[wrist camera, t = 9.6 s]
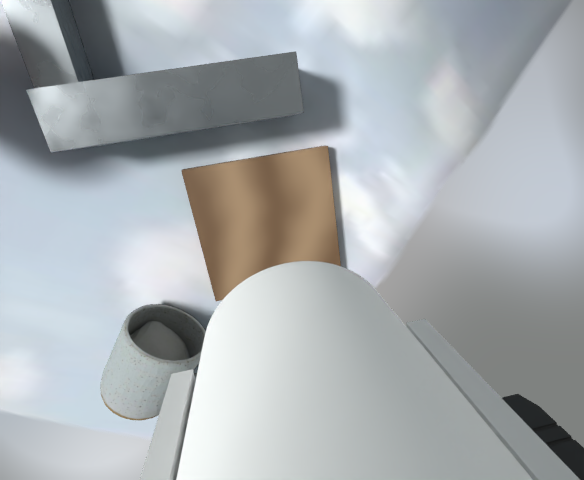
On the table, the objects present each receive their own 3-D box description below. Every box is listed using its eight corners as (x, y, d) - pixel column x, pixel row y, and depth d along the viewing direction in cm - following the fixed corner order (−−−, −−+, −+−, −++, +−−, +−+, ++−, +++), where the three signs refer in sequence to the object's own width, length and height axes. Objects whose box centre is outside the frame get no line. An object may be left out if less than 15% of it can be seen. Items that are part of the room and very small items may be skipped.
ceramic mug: (111, 357, 34) (77, 420, 27) (140, 293, 32) (111, 342, 25) (207, 385, 37) (200, 448, 30) (238, 328, 35) (238, 380, 28)
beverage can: (362, 412, 16) (623, 1036, 5) (197, 408, 15) (47, 1280, 4) (405, 265, 14) (1080, 826, 3) (215, 243, 12) (-63, 1286, 1)
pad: (216, 296, 33) (215, 301, 32) (183, 169, 29) (181, 170, 28) (339, 271, 34) (341, 275, 33) (325, 145, 30) (327, 146, 29)
